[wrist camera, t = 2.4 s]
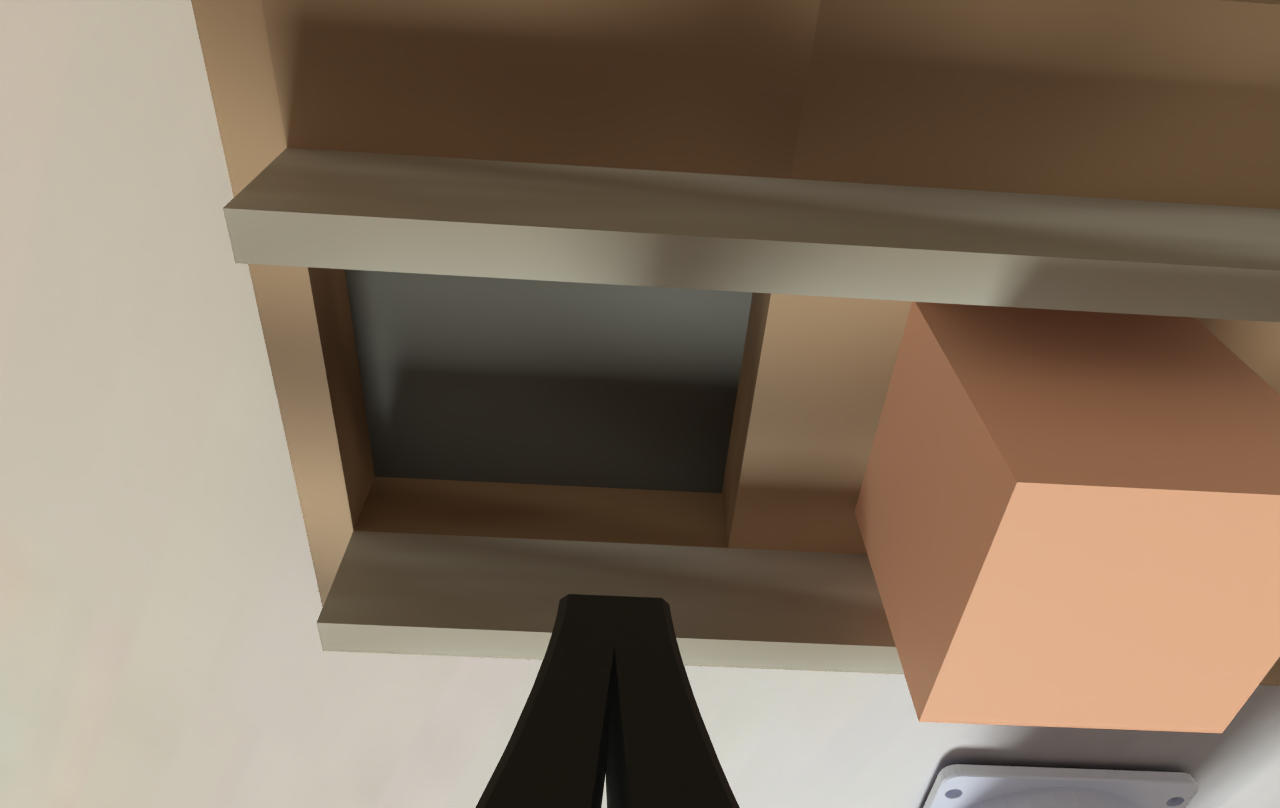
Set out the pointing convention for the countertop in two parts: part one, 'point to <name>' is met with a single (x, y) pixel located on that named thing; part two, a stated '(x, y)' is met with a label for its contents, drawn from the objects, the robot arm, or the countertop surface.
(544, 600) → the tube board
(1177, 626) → the block
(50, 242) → the countertop surface
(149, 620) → the countertop surface
